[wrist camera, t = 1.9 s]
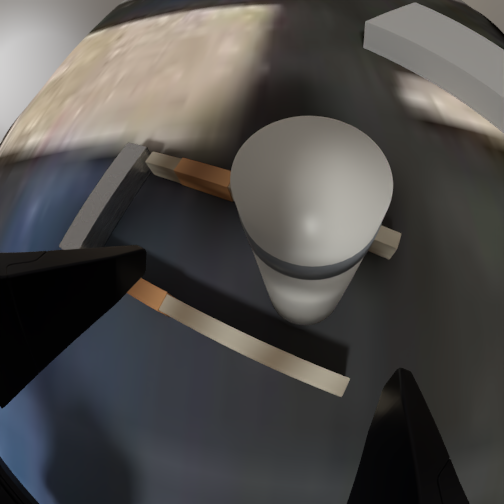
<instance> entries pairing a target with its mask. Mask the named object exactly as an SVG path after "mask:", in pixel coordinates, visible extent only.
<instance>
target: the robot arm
mask: <svg viewBox="0 0 504 504" xmlns="http://www.w3.org/2000/svg"><path fill="white" fill-rule="evenodd" d="M145 270H146V250H145V249H143V248H141V247H139V246H137V245H130V246H113V247H98V248H83V249H68V250H54V251H39V252H19V253H0V406H1V408H3V407H5V406H6V405H7V404H8V403H9V402H10V401H11V400H12V399H13V398H14V397H15V396H16V395H17V394H18V393H19V392H20V391H21V390H22V389H23V388H24V387H25V386H26V385H27V384H28V383H29V382H31V381H32V380H33V379H34V378H35V377H36V376H37V375H38V374H39V373H40V372H41V371H42V370H43V369H44V368H45V367H46V366H47V365H48V364H49V363H50V362H51V361H53V360H54V359H55V358H56V357H57V356H58V355H59V354H60V353H61V352H62V351H63V350H64V349H66V348H67V347H68V346H69V345H70V344H71V343H72V342H73V341H74V340H76V339H77V338H78V337H79V336H80V335H81V334H82V333H83V332H84V331H86V330H87V329H88V328H89V327H90V326H91V325H92V324H93V323H95V322H96V321H97V320H98V319H99V318H100V317H101V316H103V315H104V314H105V313H106V312H107V311H108V310H109V309H111V308H112V307H113V306H114V305H115V304H116V303H117V302H118V301H119V300H120V299H121V298H122V297H123V296H124V295H125V294H126V293H127V292H128V291H129V290H130V289H131V288H132V287H133V286H134V285H135V284H136V283H137V282H138V281H139V279H140V278H141V277H142V276H143V275H144V273H145ZM449 458H450V457H449V454H448V452H447V449H446V447H445V445H444V442H443V440H442V437H441V435H440V433H439V430H438V428H437V426H436V424H435V421H434V419H433V417H432V415H431V412H430V410H429V408H428V406H427V404H426V402H425V399H424V397H423V395H422V393H421V391H420V389H419V387H418V385H417V383H416V381H415V379H414V377H413V375H412V373H411V372H410V371H408V370H406V369H403V368H398V369H397V370H396V371H395V373H394V374H393V375H392V377H391V378H390V379H389V381H388V382H387V383H386V385H385V386H384V388H383V390H382V393H381V396H380V399H379V402H378V405H377V408H376V411H375V414H374V417H373V420H372V423H371V425H370V428H369V431H368V435H367V438H366V442H365V446H364V450H363V453H362V457H361V461H360V464H359V468H358V471H357V474H356V477H355V481H354V484H353V487H352V490H351V493H350V496H349V499H348V502H347V504H469V501H468V499H467V497H466V495H465V493H464V490H463V488H462V486H461V484H460V482H459V479H458V477H457V474H456V472H455V469H454V467H453V464H452V462H451V460H450V459H449ZM0 504H39V503H38V502H37V501H36V500H35V498H34V497H33V496H32V495H31V494H30V493H29V492H28V491H27V490H26V488H25V487H24V486H23V485H22V484H21V483H20V481H19V480H18V479H17V478H16V476H15V475H14V474H13V473H12V472H11V470H10V469H9V468H8V466H7V465H6V464H5V462H4V461H3V460H2V458H1V457H0Z"/></svg>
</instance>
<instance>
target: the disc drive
mask: <svg viewBox="0 0 504 504" xmlns="http://www.w3.org/2000/svg"><path fill="white" fill-rule="evenodd" d="M363 48H366V49H368V50H370V51H372V52H375V53H377V54H379V55H381V56H383V57H385V58H387V59H389V60H391V61H393V62H395V63H397V64H399V65H401V66H403V67H405V68H407V69H409V70H411V71H412V72H414V73H416V74H418V75H420V76H421V77H423V78H425V79H427V80H428V81H430V82H432V83H433V84H435V85H437V86H438V87H440V88H442V89H443V90H445V91H446V92H448V93H449V94H451V95H453V96H454V97H456V98H457V99H459V100H460V101H461V102H463V103H464V104H466V105H467V106H469V107H470V108H471V109H473V110H474V111H476V112H477V113H478V114H480V115H481V116H482V117H484V118H485V119H486V120H488V121H489V122H490V123H491V124H493V125H494V126H495V127H497V128H498V129H499V130H500V131H501V132H503V133H504V50H503V49H501V48H500V47H498V46H497V45H495V44H494V43H492V42H491V41H489V40H488V39H486V38H484V37H483V36H481V35H479V34H478V33H476V32H474V31H472V30H471V29H469V28H467V27H465V26H464V25H462V24H460V23H458V22H456V21H454V20H452V19H450V18H448V17H446V16H444V15H442V14H440V13H438V12H436V11H434V10H432V9H429V8H427V7H425V6H422V5H420V4H418V3H412V4H409V5H406V6H403V7H401V8H398V9H395V10H393V11H390V12H387V13H385V14H382V15H380V16H378V17H375V18H373V19H370V20H368V21H366V22H365V33H364V44H363Z"/></svg>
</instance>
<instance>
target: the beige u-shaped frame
mask: <svg viewBox="0 0 504 504" xmlns="http://www.w3.org/2000/svg"><path fill="white" fill-rule="evenodd" d="M151 172H152V173H153V174H154V175H156V176H159V177H162V178H166V179H169V180H172V181H175V182H178V183H181V184H182V185H184V186H187V187H190V188H193V189H196V190H199V191H202V192H205V193H208V194H211V195H214V196H217V197H220V198H223V199H226V200H229V201H231V202H233V201H234V198H233V195H232V191H231V184H230V175H231V171H229V170H226V169H222V168H219V167H215V166H212V165H208V164H205V163H201V162H198V161H194V160H190V159H187V158H182V159H180V158H176V157H173V156H169V155H165V154H161V153H157V152H152V153H150V151H149V150H148V148H147V147H145V146H141V145H136V144H132V143H127V144H126V146H125V147H124V148H123V149H122V151H121V152H120V153H119V155H118V156H117V157H116V159H115V160H114V161H113V163H112V164H111V166H110V167H109V168H108V170H107V171H106V172H105V174H104V175H103V177H102V178H101V180H100V181H99V182H98V184H97V185H96V187H95V188H94V190H93V191H92V193H91V194H90V196H89V197H88V199H87V200H86V202H85V203H84V205H83V207H82V208H81V210H80V211H79V213H78V214H77V216H76V218H75V219H74V221H73V223H72V224H71V226H70V228H69V229H68V231H67V233H66V234H65V236H64V238H63V240H62V241H61V243H60V245H59V247H60V248H62V249H63V250H68V249H83V248H98V247H104V245H105V243H106V242H107V240H108V238H109V236H110V235H111V233H112V231H113V230H114V228H115V226H116V225H117V223H118V222H119V220H120V218H121V217H122V215H123V214H124V212H125V210H126V209H127V207H128V206H129V204H130V203H131V201H132V200H133V198H134V197H135V195H136V194H137V192H138V191H139V189H140V188H141V186H142V185H143V183H144V182H145V180H146V179H147V177H148V176H149V174H150V173H151ZM400 237H401V233H399V232H396V231H394V230H391V229H389V228H386V227H384V226H381V227H380V229H379V231H378V234H377V236H376V237H375V239H374V241H373V243H372V245H371V247H370V249H369V250H368V251H369V252H372V253H374V254H377V255H379V256H382V257H384V258H387V259H390V258H391V257H392V255H393V254H394V253H395V251H396V250H397V248H398V244H399V241H400ZM127 293H128V294H130V295H131V296H133V297H135V298H136V299H138V300H140V301H141V302H143V303H145V304H146V305H148V306H150V307H151V308H153V309H155V310H157V311H158V312H160V313H163V314H165V315H167V316H169V317H172V318H174V319H176V320H177V321H179V322H181V323H183V324H185V325H187V326H188V327H190V328H192V329H194V330H196V331H198V332H200V333H202V334H203V335H205V336H207V337H209V338H211V339H213V340H215V341H217V342H219V343H221V344H223V345H225V346H227V347H229V348H231V349H233V350H235V351H237V352H239V353H241V354H243V355H245V356H247V357H249V358H251V359H254V360H256V361H258V362H260V363H262V364H264V365H266V366H269V367H271V368H273V369H275V370H278V371H280V372H282V373H284V374H287V375H289V376H291V377H293V378H296V379H298V380H300V381H303V382H305V383H308V384H310V385H312V386H315V387H317V388H320V389H322V390H325V391H327V392H330V393H332V394H335V395H337V396H340V397H342V395H343V393H344V391H345V389H346V387H347V385H348V382H349V380H350V378H347V377H345V376H342V375H340V374H337V373H335V372H332V371H330V370H327V369H325V368H322V367H320V366H318V365H315V364H313V363H310V362H308V361H306V360H303V359H301V358H299V357H296V356H294V355H292V354H289V353H287V352H285V351H282V350H280V349H278V348H276V347H273V346H271V345H269V344H267V343H265V342H262V341H260V340H258V339H256V338H254V337H252V336H249V335H247V334H245V333H243V332H241V331H239V330H237V329H235V328H233V327H231V326H229V325H226V324H224V323H222V322H220V321H218V320H216V319H214V318H212V317H210V316H208V315H206V314H204V313H202V312H200V311H198V310H196V309H195V308H193V307H191V306H189V305H187V304H185V303H183V302H181V301H179V300H178V299H176V298H175V297H173V296H172V295H170V294H169V293H167V292H166V291H164V290H162V289H160V288H158V287H156V286H155V285H153V284H151V283H149V282H147V281H145V280H144V279H142V278H140V279H139V281H138V282H137V283H136V284H135V285H134V286H133V287H132V288H131V289H130V290H129V291H128V292H127Z"/></svg>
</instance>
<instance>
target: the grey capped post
mask: <svg viewBox="0 0 504 504" xmlns="http://www.w3.org/2000/svg"><path fill="white" fill-rule="evenodd" d="M230 184H231V191H232V195H233V198H234V201H235V204H236V206H237V209H238V215H239V218H240V222H241V225H242V227H243V230H244V233H245V235H246V238H247V240H248V242H249V245H250V246H251V248H252V250H253V253H254V256H255V258H256V261H257V264H258V267H259V269H260V272H261V275H262V278H263V280H264V283H265V286H266V289H267V291H268V294H269V297H270V300H271V302H272V305H273V307H274V309H275V310H276V311H277V313H278V314H279V315H280V316H281V317H282V318H284V319H285V320H287V321H289V322H291V323H294V324H297V325H312V324H316V323H318V322H321V321H323V320H324V319H326V318H327V317H328V316H329V315H330V314H331V313H332V312H333V311H334V309H335V308H336V306H337V304H338V303H339V301H340V299H341V297H342V296H343V294H344V292H345V290H346V289H347V287H348V285H349V283H350V281H351V280H352V278H353V276H354V274H355V272H356V271H357V269H358V267H359V265H360V263H361V261H362V259H363V257H364V256H365V255H366V254H367V252H368V250H369V249H370V247H371V245H372V243H373V241H374V239H375V237H376V236H377V234H378V231H379V229H380V227H381V224H382V220H383V218H384V216H385V214H386V212H387V210H388V207H389V204H390V202H391V198H392V193H393V178H392V173H391V169H390V166H389V163H388V161H387V159H386V157H385V155H384V154H383V152H382V151H381V149H380V148H379V147H378V146H377V144H376V143H375V142H374V141H373V140H372V139H371V138H369V137H368V136H367V135H366V134H364V133H363V132H362V131H360V130H358V129H357V128H355V127H353V126H351V125H349V124H347V123H344V122H342V121H339V120H335V119H331V118H327V117H320V116H297V117H290V118H286V119H282V120H279V121H276V122H273V123H271V124H269V125H267V126H265V127H263V128H262V129H260V130H258V131H257V132H256V133H254V134H253V135H252V136H251V137H250V138H249V139H248V140H247V141H246V142H245V143H244V144H243V145H242V147H241V148H240V149H239V151H238V153H237V154H236V156H235V159H234V161H233V164H232V168H231V175H230Z"/></svg>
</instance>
